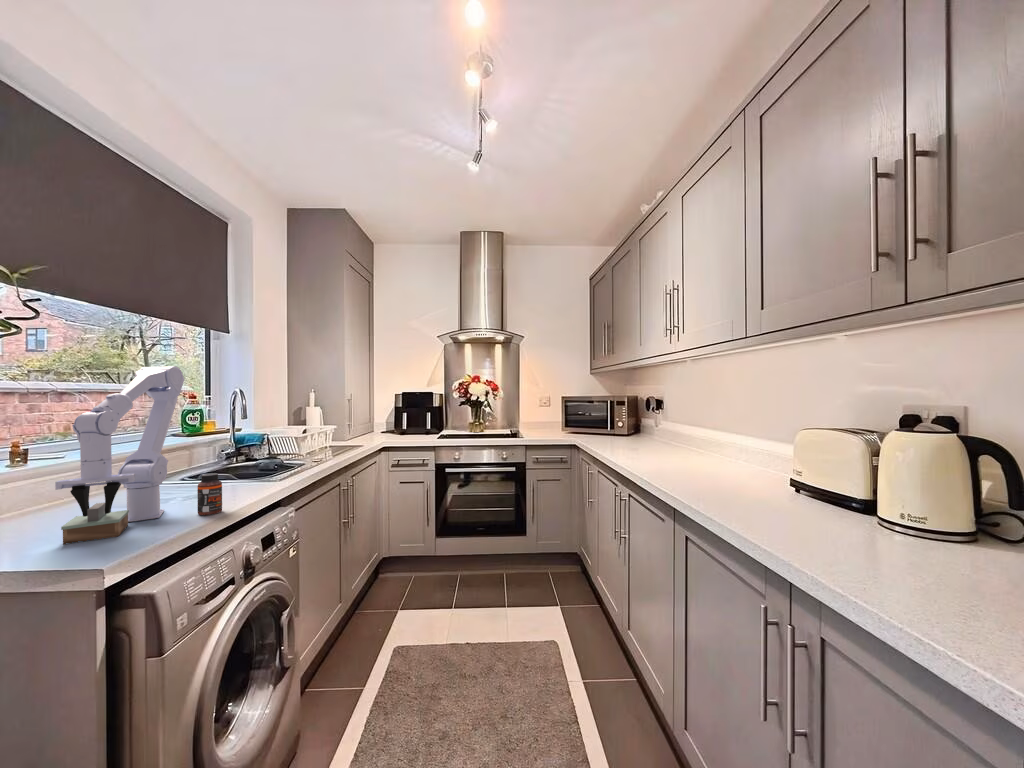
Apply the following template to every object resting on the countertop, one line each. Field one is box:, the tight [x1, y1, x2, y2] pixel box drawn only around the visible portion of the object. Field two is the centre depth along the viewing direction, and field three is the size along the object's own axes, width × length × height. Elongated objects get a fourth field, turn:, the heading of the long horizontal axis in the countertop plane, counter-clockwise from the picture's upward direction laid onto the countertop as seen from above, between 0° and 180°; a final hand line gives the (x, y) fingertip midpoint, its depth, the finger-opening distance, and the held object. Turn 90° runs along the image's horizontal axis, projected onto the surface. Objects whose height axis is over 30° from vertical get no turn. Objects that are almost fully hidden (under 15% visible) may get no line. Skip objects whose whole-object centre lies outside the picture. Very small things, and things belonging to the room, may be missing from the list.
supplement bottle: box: [197, 472, 223, 516], centre depth 130 cm, size 6×6×11 cm
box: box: [62, 514, 129, 545], centre depth 112 cm, size 10×10×4 cm
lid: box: [60, 502, 129, 531], centre depth 112 cm, size 10×10×5 cm
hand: (97, 514), depth 112 cm, fingers open, 3 cm apart
